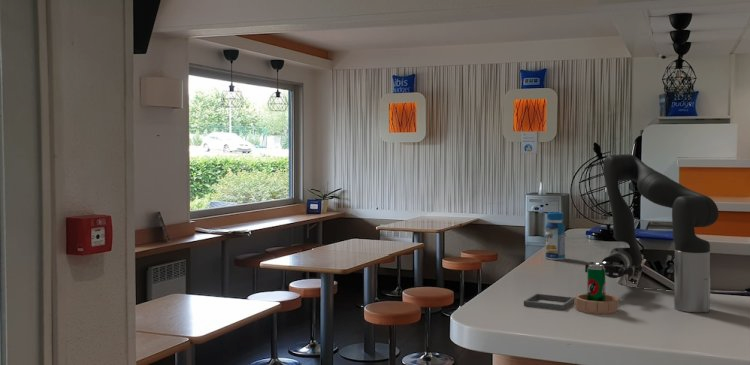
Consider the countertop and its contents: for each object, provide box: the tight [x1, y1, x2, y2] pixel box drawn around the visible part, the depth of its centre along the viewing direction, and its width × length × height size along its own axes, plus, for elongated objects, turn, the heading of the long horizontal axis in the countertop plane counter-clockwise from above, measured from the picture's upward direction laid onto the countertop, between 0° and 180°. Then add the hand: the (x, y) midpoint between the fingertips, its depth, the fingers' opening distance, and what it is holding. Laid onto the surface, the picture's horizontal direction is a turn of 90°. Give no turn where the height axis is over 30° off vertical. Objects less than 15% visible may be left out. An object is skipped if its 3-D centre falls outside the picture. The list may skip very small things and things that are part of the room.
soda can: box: [586, 263, 606, 301], centre depth 196 cm, size 5×5×12 cm
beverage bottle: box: [544, 211, 566, 261], centre depth 288 cm, size 8×8×20 cm
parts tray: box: [523, 293, 575, 311], centre depth 203 cm, size 12×12×2 cm
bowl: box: [573, 292, 620, 315], centre depth 196 cm, size 12×12×4 cm
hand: (604, 272), depth 205 cm, fingers open, 8 cm apart
